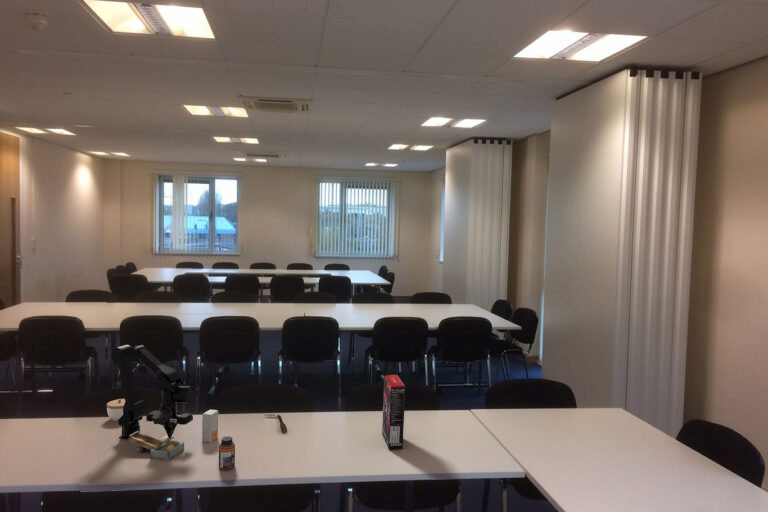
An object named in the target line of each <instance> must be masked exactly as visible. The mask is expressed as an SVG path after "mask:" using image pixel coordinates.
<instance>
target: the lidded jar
mask: <svg viewBox="0 0 768 512" xmlns="http://www.w3.org/2000/svg"><path fill="white" fill-rule="evenodd" d="M124 404H125V398H118V399H114V400H111V401H109V402H107V403H106V412H107V415H108V417H109V418H110V419H111V420H112V421H113V422H118V419H119V418H120V417H121V416H122V415H123V407H124Z"/></svg>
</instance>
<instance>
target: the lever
mask: <svg viewBox="0 0 768 512" xmlns="http://www.w3.org/2000/svg"><path fill="white" fill-rule="evenodd" d="M173 439H175V437H174V436H173V435H172V437H171V438H169V437H168V435H167V434H165V435H164V436H163V437H161V438H159V439H158V438H154V437H152V436H150V435H147V434H144V433H143V432H141V431H140V432H139V431H136V432H135V433H133V434H131V435H129V439H127V441H128V442H130V443H133V444H135V445H137V446H138V447H140V446H142V447H144V448H147V449H148V450H149V451H151V450H152V449H154V450H158V449H159V448H160V447H162V446H163V445H166V440H170V441H173Z"/></svg>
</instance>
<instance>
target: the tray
mask: <svg viewBox="0 0 768 512" xmlns="http://www.w3.org/2000/svg"><path fill="white" fill-rule="evenodd" d="M169 445H174V446H175V447H174V448H173V449H171V450H170V451H167V447H168V446H169ZM184 450H185V442H184V441H177V440H166V443H165V446H163V447H162V448H160V449H156V450H154V449H152V450H150V458H152V459H159V460H166V461H170V460H171V459H173V458H174V457H176V456H177V455H179V454H180V453H181V452H183V451H184Z"/></svg>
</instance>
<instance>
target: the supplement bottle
mask: <svg viewBox="0 0 768 512" xmlns="http://www.w3.org/2000/svg"><path fill="white" fill-rule="evenodd" d="M220 439H221V442H220V444H219V445H218V469H219V470H222V471H228V470H232V469H234V468H235V466H236V464H235V463H236V444H235V442H233V437H232V436H227V435H226V436H223V437H221V438H220Z"/></svg>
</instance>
